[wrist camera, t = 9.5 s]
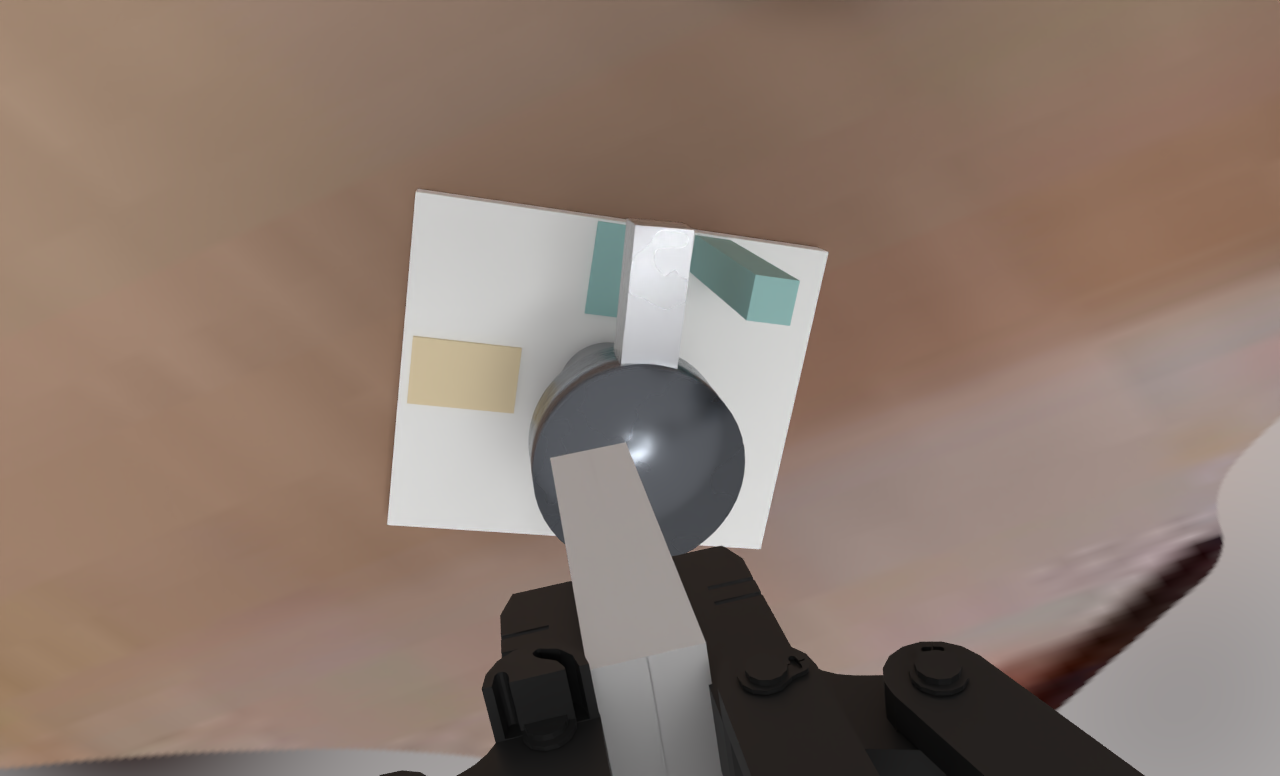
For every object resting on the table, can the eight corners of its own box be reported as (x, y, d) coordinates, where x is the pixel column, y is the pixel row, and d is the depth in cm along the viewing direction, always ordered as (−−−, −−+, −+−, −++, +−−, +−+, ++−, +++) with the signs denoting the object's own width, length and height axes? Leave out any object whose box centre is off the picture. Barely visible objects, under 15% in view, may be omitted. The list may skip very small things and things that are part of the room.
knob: (702, 581, 36) (721, 623, 33) (518, 581, 34) (521, 624, 31) (753, 226, 31) (780, 239, 28) (544, 208, 30) (551, 220, 27)
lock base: (818, 247, 40) (922, 294, 30) (753, 537, 44) (826, 656, 35) (417, 188, 36) (395, 221, 27) (389, 512, 40) (361, 639, 31)
